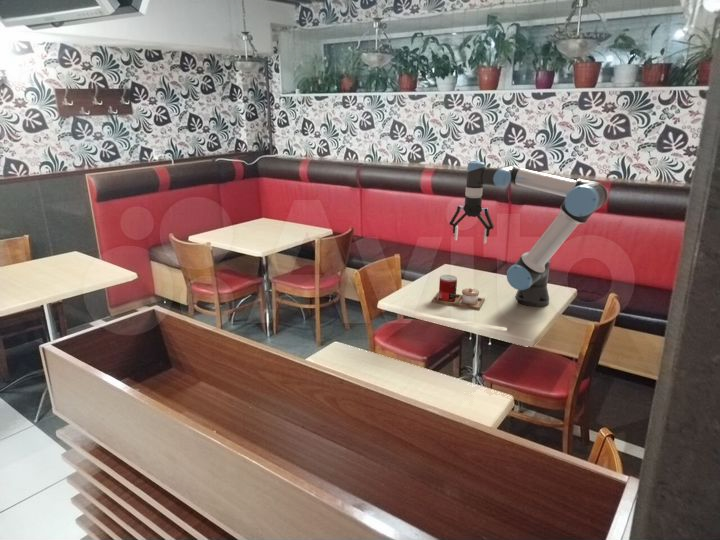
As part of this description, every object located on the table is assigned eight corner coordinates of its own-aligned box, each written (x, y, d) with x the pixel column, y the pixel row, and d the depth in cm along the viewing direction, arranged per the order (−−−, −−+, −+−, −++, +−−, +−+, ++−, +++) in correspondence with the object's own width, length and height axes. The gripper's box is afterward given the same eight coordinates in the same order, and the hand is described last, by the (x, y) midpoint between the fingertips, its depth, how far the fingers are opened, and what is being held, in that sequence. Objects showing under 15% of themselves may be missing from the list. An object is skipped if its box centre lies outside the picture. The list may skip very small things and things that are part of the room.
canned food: (451, 304, 244) (453, 281, 241) (435, 300, 248) (437, 278, 245) (458, 298, 250) (459, 276, 247) (442, 295, 255) (443, 273, 251)
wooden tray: (484, 303, 249) (484, 298, 248) (479, 312, 239) (479, 307, 238) (438, 296, 257) (438, 291, 256) (431, 304, 247) (431, 299, 246)
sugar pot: (479, 301, 248) (480, 286, 245) (476, 307, 241) (477, 292, 239) (463, 299, 250) (464, 284, 248) (459, 304, 244) (460, 289, 241)
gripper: (502, 197, 242) (498, 242, 249) (448, 192, 252) (446, 236, 258) (500, 200, 236) (496, 246, 243) (444, 195, 245) (442, 240, 252)
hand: (470, 241), depth 250 cm, fingers open, 13 cm apart
